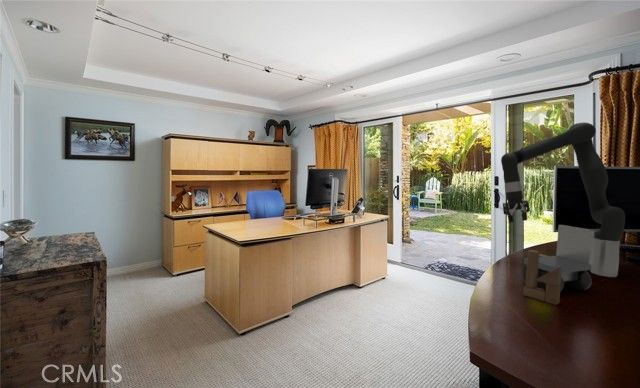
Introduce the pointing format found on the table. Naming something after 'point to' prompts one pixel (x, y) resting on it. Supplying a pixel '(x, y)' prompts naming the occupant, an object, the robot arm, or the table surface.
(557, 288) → the tan wooden frame
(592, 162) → the robot arm
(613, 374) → the table surface
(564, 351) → the table surface
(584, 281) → the trolley
